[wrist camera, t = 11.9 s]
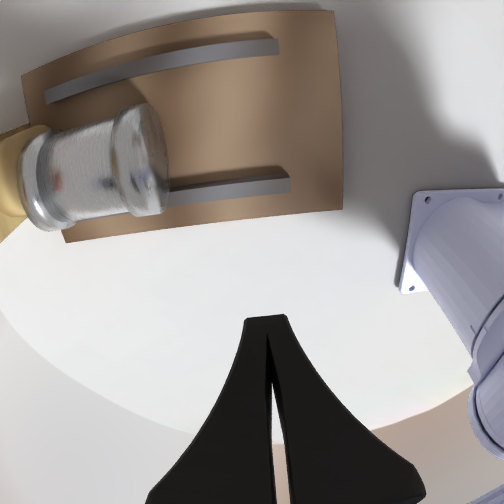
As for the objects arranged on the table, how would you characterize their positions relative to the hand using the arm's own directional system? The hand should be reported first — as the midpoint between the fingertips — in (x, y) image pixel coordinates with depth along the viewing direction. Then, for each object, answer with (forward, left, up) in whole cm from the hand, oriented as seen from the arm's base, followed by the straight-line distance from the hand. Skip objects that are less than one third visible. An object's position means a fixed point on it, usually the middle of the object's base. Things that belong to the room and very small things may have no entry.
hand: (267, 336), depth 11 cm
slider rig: (+6, -6, -9) cm, 13 cm away
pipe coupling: (+7, -6, -8) cm, 12 cm away
